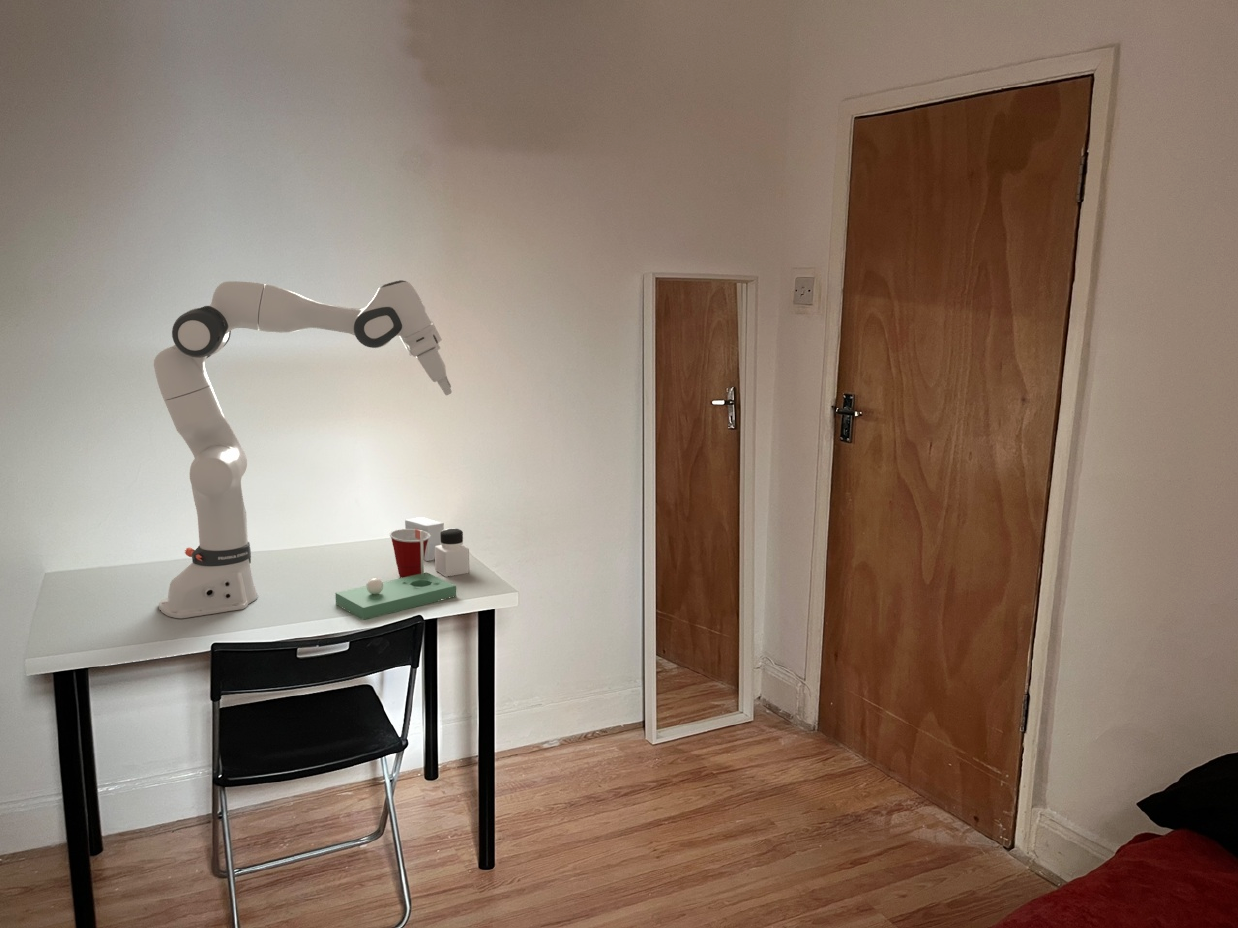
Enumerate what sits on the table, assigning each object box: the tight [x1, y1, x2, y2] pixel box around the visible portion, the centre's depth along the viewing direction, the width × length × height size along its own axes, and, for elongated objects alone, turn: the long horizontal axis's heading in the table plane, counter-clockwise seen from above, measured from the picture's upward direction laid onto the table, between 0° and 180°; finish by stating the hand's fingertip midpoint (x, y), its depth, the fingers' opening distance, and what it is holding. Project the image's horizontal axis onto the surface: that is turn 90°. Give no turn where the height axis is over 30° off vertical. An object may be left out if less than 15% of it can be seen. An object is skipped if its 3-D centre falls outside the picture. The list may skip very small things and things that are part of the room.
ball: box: [366, 577, 383, 594], centre depth 238 cm, size 4×4×4 cm
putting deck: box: [335, 529, 457, 621], centre depth 242 cm, size 26×16×15 cm, turn 133°
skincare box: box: [404, 516, 445, 562], centre depth 280 cm, size 10×6×10 cm, turn 49°
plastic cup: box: [389, 528, 431, 578], centre depth 262 cm, size 11×11×12 cm
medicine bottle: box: [434, 527, 470, 578], centre depth 266 cm, size 7×7×12 cm
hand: (448, 391), depth 243 cm, fingers open, 8 cm apart
